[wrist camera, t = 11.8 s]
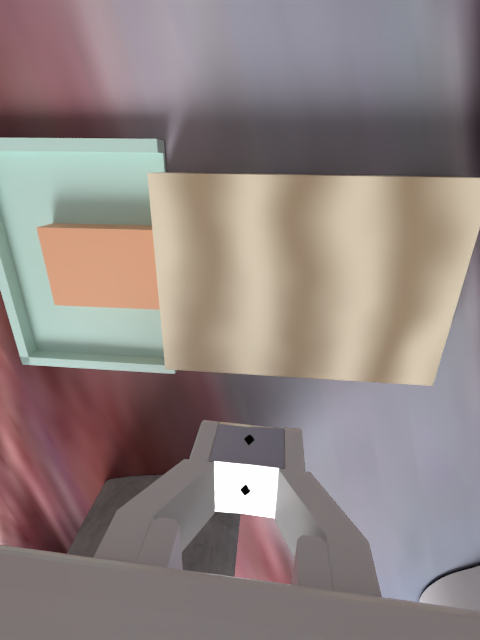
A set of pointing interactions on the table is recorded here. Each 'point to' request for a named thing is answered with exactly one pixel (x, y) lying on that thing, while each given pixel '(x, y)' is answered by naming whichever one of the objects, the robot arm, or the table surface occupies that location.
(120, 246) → the salmon pink block
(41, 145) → the tray
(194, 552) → the hip flask
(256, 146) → the table surface
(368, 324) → the beige flat block
